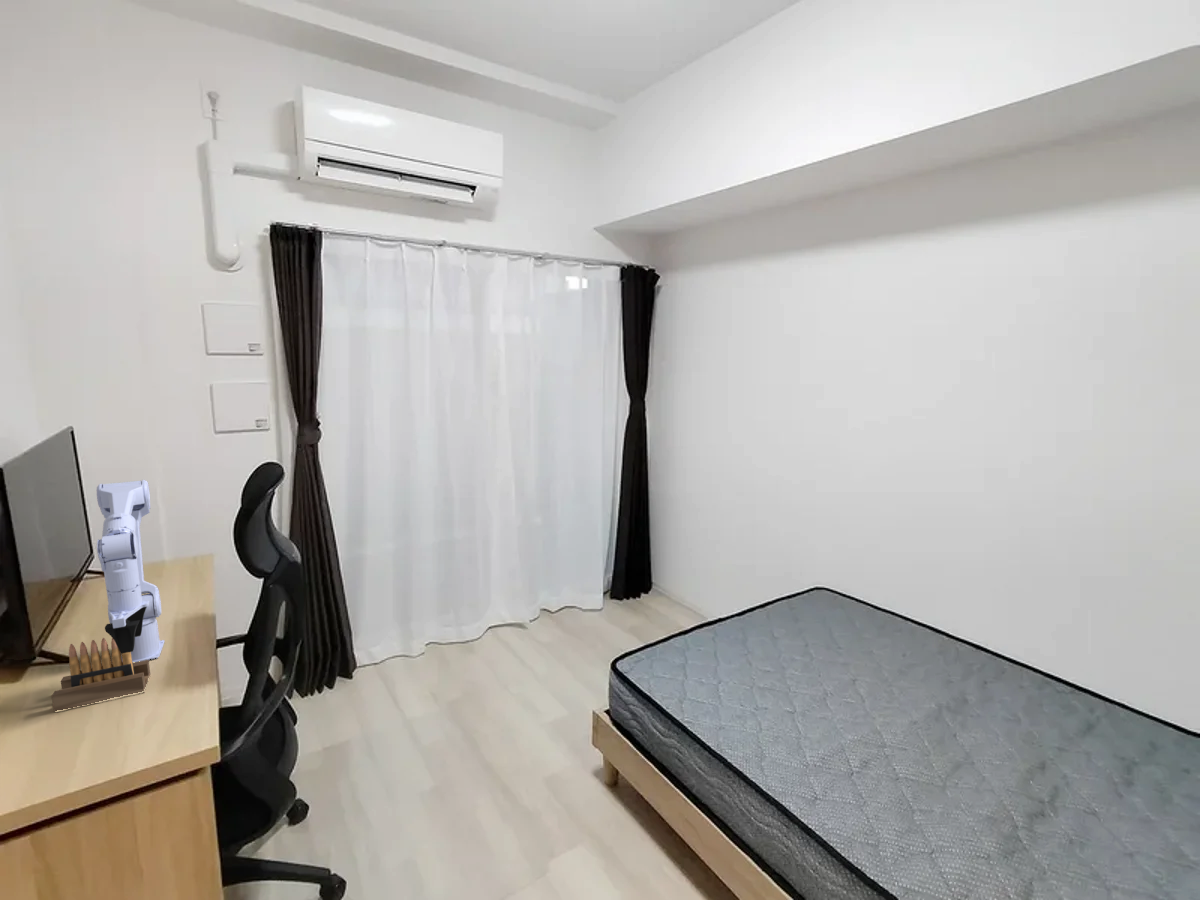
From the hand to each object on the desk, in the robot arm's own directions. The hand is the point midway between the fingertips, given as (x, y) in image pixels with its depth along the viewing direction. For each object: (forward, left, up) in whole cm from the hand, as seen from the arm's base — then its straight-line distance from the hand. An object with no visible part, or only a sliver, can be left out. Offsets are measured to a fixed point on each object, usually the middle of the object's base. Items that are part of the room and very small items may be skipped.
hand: (131, 644), depth 128 cm
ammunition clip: (0, -6, -10) cm, 11 cm away
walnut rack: (0, -6, -10) cm, 12 cm away
